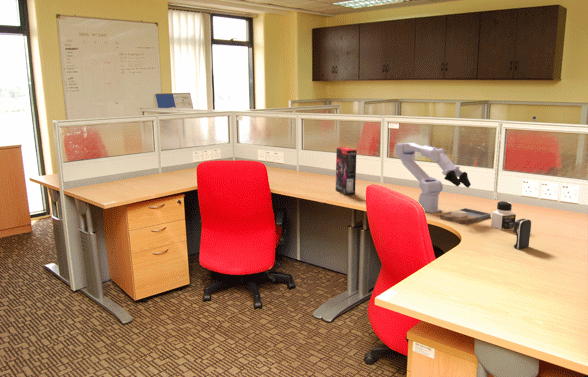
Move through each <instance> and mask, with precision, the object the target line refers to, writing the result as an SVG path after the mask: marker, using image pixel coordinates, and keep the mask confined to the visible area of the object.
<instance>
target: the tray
mask: <svg viewBox="0 0 588 377" xmlns="http://www.w3.org/2000/svg"><path fill="white" fill-rule="evenodd" d="M459 210H460V211H464V212H467V215H471V216H475V217H478V221H477V222H480V221H482V220H485V219H488V218H491V217H492V213H490V212H485V211H481V210H477V209H471V208H466V207H465V208H460V209H459Z"/></svg>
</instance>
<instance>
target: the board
mask: <svg viewBox="0 0 588 377" xmlns="http://www.w3.org/2000/svg"><path fill="white" fill-rule="evenodd" d="M451 212H452V211H449V212H444V213H441V214H440V215H439V219H440V220H444V221H448V222H452V223H456V224H460V225H465V226H467V225H470V224H473V223H476V222H479V221H478V217H475V216H471V215H466V216H465V217H462V218H459V217H455V216H451Z"/></svg>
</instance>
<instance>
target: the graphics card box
mask: <svg viewBox="0 0 588 377" xmlns="http://www.w3.org/2000/svg"><path fill="white" fill-rule="evenodd" d="M357 152H358V151H357V149H354V148H351V147H346V146H338V147H336V155H335V156H336V157H335V158H336V159H335V160H336V161H335V162H336V163H335V190H336V191H338V192H339V193H341V194H344V195H346V196H349V195H350V196H351V195H356V181H357V180H356V179H357V176H356V175H357V174H356V173H357Z"/></svg>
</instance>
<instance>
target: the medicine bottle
mask: <svg viewBox="0 0 588 377" xmlns="http://www.w3.org/2000/svg"><path fill="white" fill-rule="evenodd" d="M512 210H513V204H512V203H511V202H510V201H505V200H503V201H498V202H497V204H496V210H495V211H494V210H493V211H492V212H491V222H490V226H491V227H493V228H494V229H497V230H500V231H508V230H514V223H515V221H516V213H513V212H512Z"/></svg>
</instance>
